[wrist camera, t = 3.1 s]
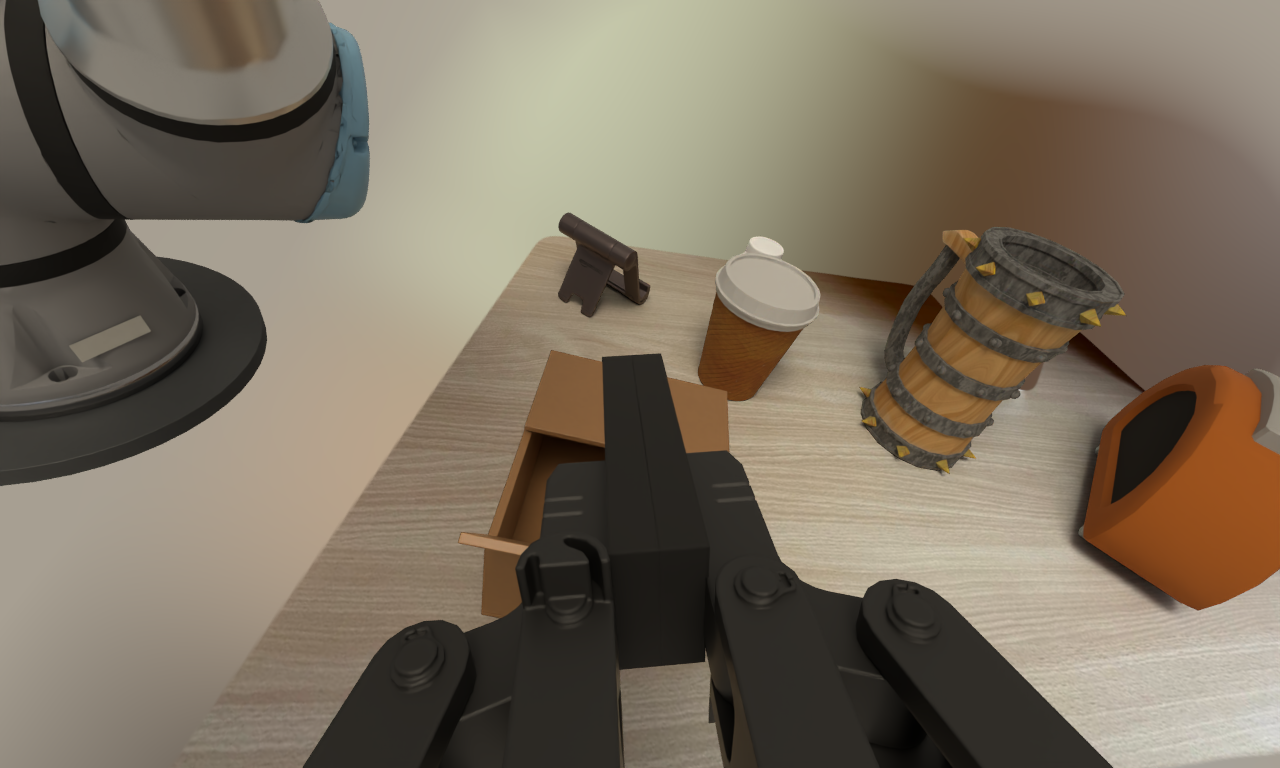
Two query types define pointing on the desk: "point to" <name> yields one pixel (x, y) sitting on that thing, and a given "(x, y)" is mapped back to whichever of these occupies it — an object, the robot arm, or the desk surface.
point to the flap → (493, 543)
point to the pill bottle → (764, 247)
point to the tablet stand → (599, 266)
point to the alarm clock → (1193, 484)
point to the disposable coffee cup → (754, 321)
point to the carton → (575, 455)
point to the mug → (980, 339)
